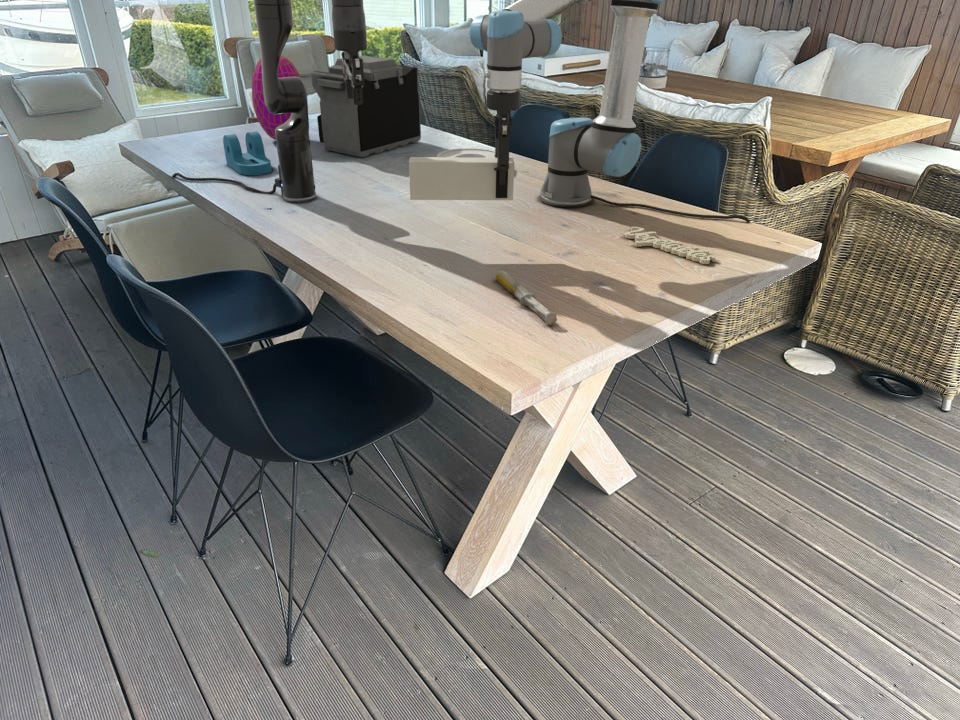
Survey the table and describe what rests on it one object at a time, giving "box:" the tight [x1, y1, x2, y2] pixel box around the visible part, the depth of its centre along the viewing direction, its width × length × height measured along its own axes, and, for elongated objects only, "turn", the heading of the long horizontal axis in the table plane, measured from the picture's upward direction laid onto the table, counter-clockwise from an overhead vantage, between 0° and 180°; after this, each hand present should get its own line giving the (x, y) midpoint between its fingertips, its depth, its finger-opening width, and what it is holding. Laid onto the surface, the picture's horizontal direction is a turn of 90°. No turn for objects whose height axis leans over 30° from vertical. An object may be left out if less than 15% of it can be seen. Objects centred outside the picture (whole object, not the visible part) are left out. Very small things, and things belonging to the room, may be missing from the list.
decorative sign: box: [624, 226, 717, 265], centre depth 170 cm, size 26×1×10 cm
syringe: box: [495, 269, 558, 326], centre depth 143 cm, size 25×4×3 cm, turn 21°
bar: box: [408, 156, 515, 201], centre depth 161 cm, size 24×4×9 cm, turn 92°
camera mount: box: [222, 131, 272, 176], centre depth 226 cm, size 18×10×10 cm, turn 35°
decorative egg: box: [251, 55, 302, 141], centre depth 257 cm, size 19×19×30 cm
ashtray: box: [435, 147, 495, 158], centre depth 231 cm, size 23×23×4 cm
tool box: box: [310, 55, 422, 159], centre depth 250 cm, size 37×22×30 cm, turn 144°
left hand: (355, 101), depth 167 cm, fingers open, 8 cm apart
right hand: (500, 194), depth 163 cm, fingers closed on bar, 4 cm apart
